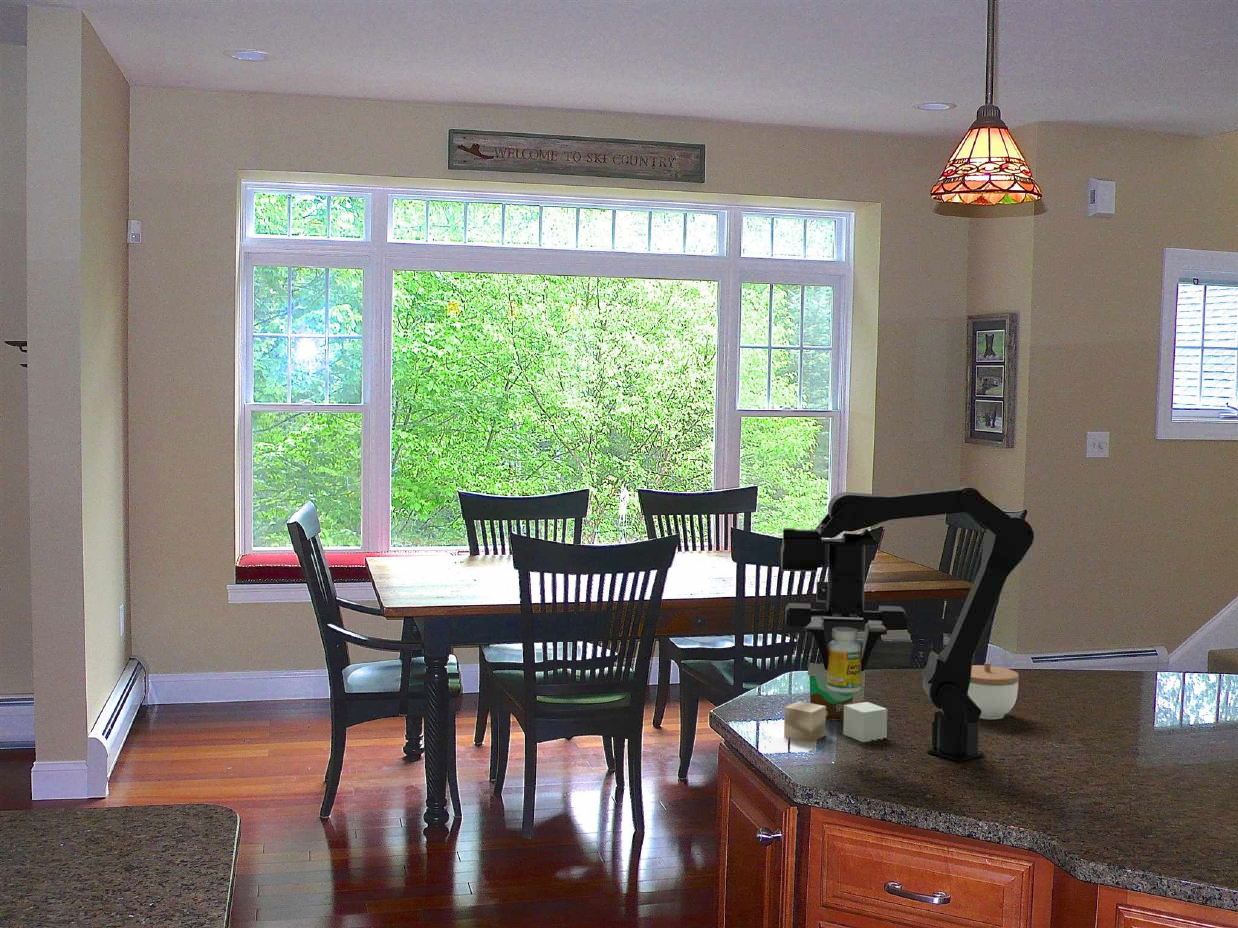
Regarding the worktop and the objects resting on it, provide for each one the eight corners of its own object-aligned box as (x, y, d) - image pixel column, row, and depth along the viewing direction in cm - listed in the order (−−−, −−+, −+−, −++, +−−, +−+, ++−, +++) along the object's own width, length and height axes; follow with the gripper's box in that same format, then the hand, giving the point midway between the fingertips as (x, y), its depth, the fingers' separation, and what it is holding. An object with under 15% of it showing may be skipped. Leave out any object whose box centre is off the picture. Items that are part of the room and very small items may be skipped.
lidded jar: (1031, 719, 205) (1032, 667, 204) (981, 725, 201) (982, 671, 200) (990, 704, 215) (992, 654, 214) (942, 709, 211) (943, 658, 210)
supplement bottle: (839, 682, 189) (841, 624, 188) (867, 689, 185) (869, 629, 185) (819, 688, 185) (821, 628, 185) (847, 694, 181) (849, 633, 181)
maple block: (825, 735, 194) (826, 706, 194) (811, 742, 190) (811, 712, 190) (798, 730, 197) (799, 701, 197) (784, 736, 193) (784, 707, 193)
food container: (838, 726, 199) (840, 668, 199) (806, 719, 203) (807, 663, 202) (870, 711, 209) (871, 656, 209) (838, 705, 213) (839, 651, 212)
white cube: (886, 738, 193) (887, 708, 192) (862, 742, 190) (863, 712, 190) (866, 730, 197) (867, 701, 197) (843, 734, 195) (843, 705, 194)
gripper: (900, 566, 191) (898, 660, 192) (785, 563, 193) (784, 656, 194) (909, 577, 180) (906, 676, 181) (786, 573, 182) (785, 672, 183)
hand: (844, 669), depth 185 cm, fingers closed on supplement bottle, 5 cm apart
